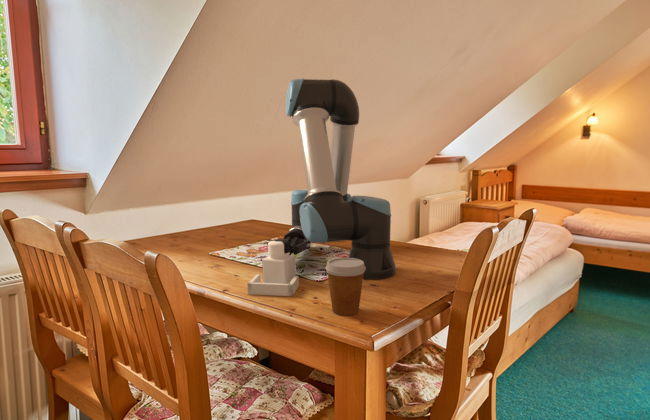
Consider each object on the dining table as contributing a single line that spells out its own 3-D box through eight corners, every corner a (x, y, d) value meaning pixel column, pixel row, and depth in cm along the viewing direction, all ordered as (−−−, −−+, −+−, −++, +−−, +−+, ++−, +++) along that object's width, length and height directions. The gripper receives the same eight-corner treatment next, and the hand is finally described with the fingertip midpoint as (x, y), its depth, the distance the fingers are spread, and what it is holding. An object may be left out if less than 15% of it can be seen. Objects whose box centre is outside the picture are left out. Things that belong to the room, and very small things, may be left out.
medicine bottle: (274, 276, 144) (273, 237, 143) (296, 279, 142) (295, 238, 140) (262, 283, 138) (261, 242, 136) (284, 286, 135) (283, 244, 133)
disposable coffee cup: (348, 321, 110) (348, 270, 108) (317, 311, 116) (317, 262, 114) (373, 310, 117) (373, 261, 115) (342, 301, 123) (342, 255, 121)
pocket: (298, 286, 135) (298, 275, 135) (292, 296, 127) (291, 285, 126) (257, 284, 137) (256, 274, 137) (247, 294, 129) (247, 283, 128)
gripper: (315, 250, 166) (301, 269, 143) (278, 249, 168) (258, 267, 145) (315, 228, 165) (301, 244, 142) (277, 227, 167) (257, 243, 144)
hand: (279, 256), depth 143 cm, fingers closed
